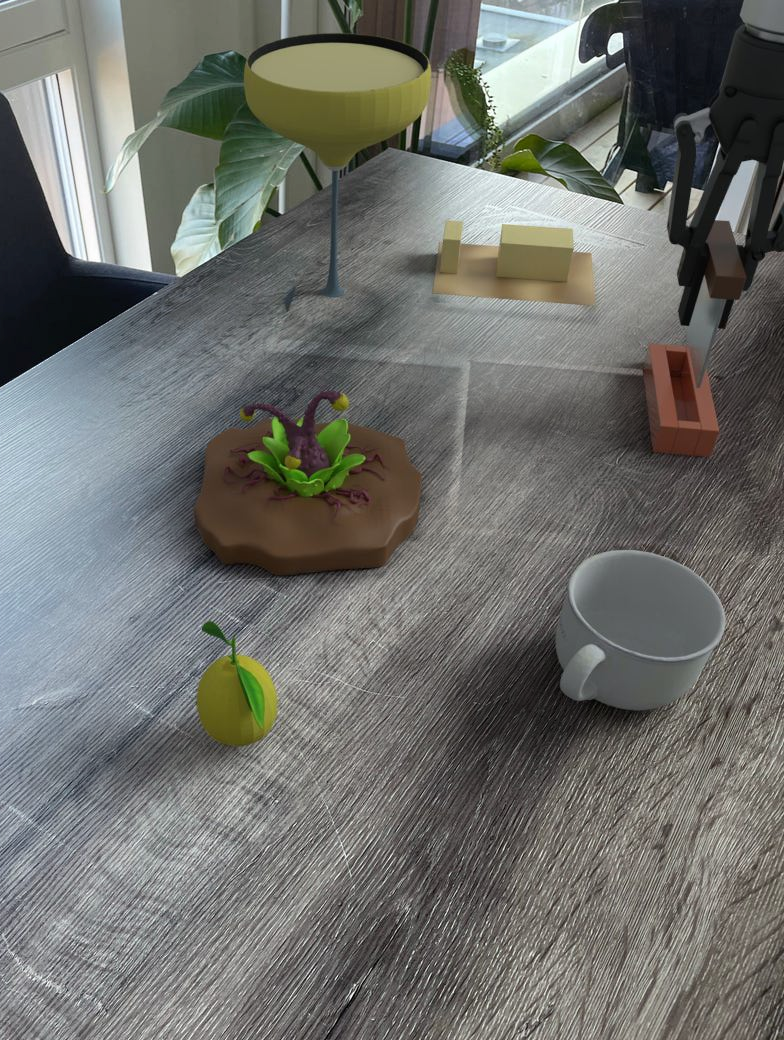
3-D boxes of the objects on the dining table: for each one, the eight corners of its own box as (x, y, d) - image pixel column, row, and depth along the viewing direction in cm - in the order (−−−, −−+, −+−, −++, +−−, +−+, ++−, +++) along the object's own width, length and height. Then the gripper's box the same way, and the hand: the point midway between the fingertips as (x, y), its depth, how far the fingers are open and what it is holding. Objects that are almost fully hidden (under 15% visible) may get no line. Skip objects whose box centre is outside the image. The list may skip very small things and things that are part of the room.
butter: (566, 262, 121) (572, 228, 118) (567, 282, 117) (573, 248, 114) (497, 257, 122) (502, 223, 119) (496, 276, 118) (501, 242, 115)
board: (589, 264, 124) (591, 252, 122) (593, 318, 115) (595, 305, 114) (438, 253, 125) (439, 241, 124) (430, 305, 117) (432, 292, 115)
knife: (698, 328, 100) (729, 220, 92) (712, 389, 92) (746, 277, 85) (673, 326, 100) (701, 219, 93) (684, 387, 93) (716, 275, 85)
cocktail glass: (341, 253, 126) (348, 21, 108) (446, 310, 116) (472, 65, 98) (220, 298, 118) (206, 56, 100) (321, 363, 108) (325, 107, 90)
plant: (422, 583, 84) (434, 471, 76) (183, 573, 85) (171, 461, 77) (418, 441, 98) (429, 333, 90) (214, 433, 99) (206, 326, 91)
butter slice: (459, 254, 122) (463, 221, 119) (457, 274, 119) (461, 240, 116) (442, 253, 122) (445, 219, 119) (439, 272, 119) (443, 238, 116)
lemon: (208, 695, 76) (198, 595, 68) (286, 705, 75) (285, 606, 68) (185, 767, 71) (172, 668, 64) (268, 779, 70) (265, 680, 63)
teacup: (618, 606, 82) (642, 528, 77) (727, 691, 76) (762, 613, 70) (486, 680, 77) (501, 602, 71) (592, 777, 71) (617, 700, 65)
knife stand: (692, 378, 106) (701, 347, 103) (708, 463, 96) (719, 431, 93) (640, 374, 106) (648, 342, 104) (651, 458, 96) (660, 425, 94)
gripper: (688, 38, 75) (616, 333, 92) (911, 50, 73) (796, 348, 90) (678, 9, 80) (611, 293, 97) (887, 19, 79) (782, 307, 95)
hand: (701, 319), depth 94 cm, fingers closed on knife, 2 cm apart
